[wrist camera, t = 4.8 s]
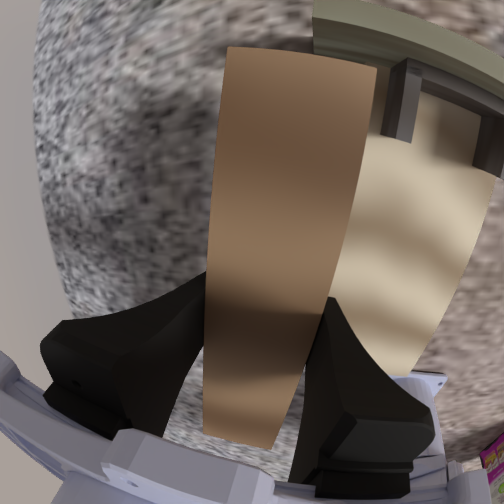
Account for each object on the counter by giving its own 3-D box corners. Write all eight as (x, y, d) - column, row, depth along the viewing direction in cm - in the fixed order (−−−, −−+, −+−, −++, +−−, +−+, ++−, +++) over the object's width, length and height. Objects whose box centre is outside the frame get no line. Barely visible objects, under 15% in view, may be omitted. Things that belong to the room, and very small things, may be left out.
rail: (281, 398, 18) (271, 449, 14) (221, 385, 18) (203, 433, 15) (357, 84, 10) (377, 68, 6) (256, 67, 10) (227, 46, 7)
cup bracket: (431, 371, 22) (447, 432, 16) (262, 344, 24) (243, 411, 18) (530, 118, 12) (594, 130, 6) (316, 36, 14) (314, -8, 8)
